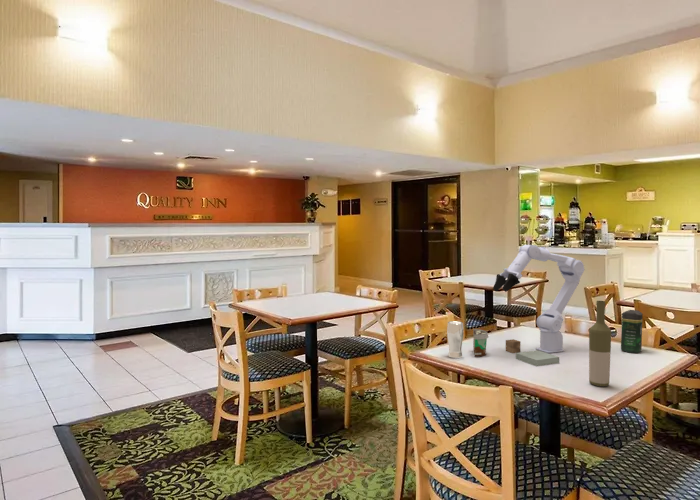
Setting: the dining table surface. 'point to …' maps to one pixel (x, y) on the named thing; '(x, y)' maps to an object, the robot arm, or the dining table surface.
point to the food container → (479, 342)
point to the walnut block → (513, 346)
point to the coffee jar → (631, 331)
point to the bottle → (599, 349)
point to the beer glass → (455, 338)
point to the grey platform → (537, 358)
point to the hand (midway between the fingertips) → (499, 290)
